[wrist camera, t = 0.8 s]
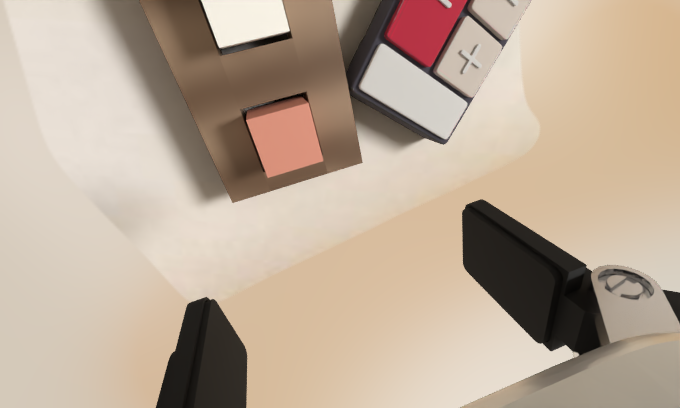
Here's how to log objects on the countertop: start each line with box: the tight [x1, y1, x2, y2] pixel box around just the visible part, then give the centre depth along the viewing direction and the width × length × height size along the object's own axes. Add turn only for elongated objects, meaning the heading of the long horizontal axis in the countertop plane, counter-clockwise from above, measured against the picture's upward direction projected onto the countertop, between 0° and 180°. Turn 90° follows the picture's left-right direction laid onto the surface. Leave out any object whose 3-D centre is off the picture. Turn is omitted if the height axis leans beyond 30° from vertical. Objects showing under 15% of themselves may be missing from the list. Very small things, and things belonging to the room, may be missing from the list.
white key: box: [201, 0, 290, 49], centre depth 19 cm, size 4×4×4 cm
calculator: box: [346, 0, 531, 144], centre depth 25 cm, size 11×4×15 cm
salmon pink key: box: [246, 96, 323, 178], centre depth 23 cm, size 4×4×4 cm
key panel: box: [139, 0, 362, 203], centre depth 23 cm, size 18×12×3 cm, turn 14°
